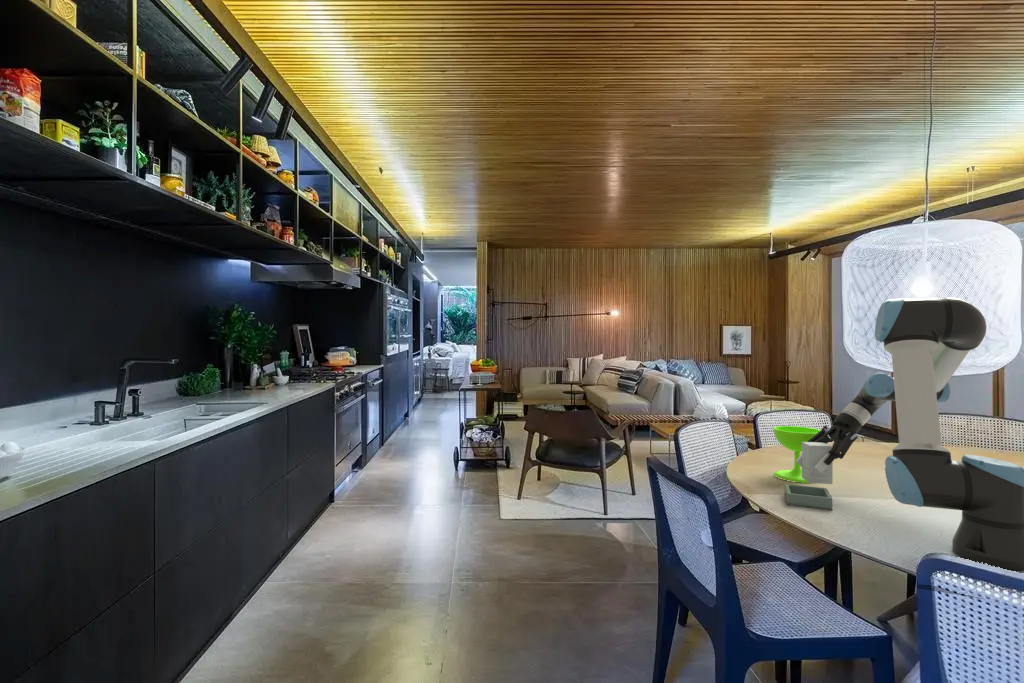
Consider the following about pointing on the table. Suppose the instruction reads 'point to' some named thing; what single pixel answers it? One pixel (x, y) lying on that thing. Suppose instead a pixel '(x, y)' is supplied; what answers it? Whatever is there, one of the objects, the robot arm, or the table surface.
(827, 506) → the holder
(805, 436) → the wineglass
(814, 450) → the supplement box
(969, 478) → the robot arm
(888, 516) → the table surface
